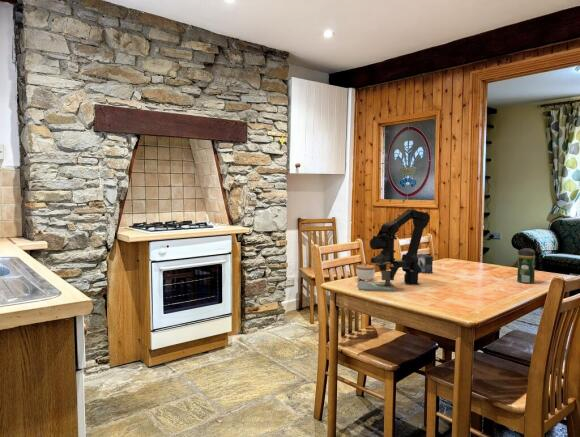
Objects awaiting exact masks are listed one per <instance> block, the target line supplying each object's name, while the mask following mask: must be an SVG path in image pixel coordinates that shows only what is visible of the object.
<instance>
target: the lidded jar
mask: <svg viewBox="0 0 580 437" xmlns="http://www.w3.org/2000/svg"><path fill="white" fill-rule="evenodd" d="M355 272H356V276H357V278H358V279H359V280H360V279H362V280H370V281H372V280H373V278H374V277H375V273H376V266H375V265H372V264H368V263H366V262H365V263H364V264H357V265H355ZM362 280H361V281H362Z"/></svg>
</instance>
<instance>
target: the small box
mask: <svg viewBox="0 0 580 437" xmlns="http://www.w3.org/2000/svg"><path fill="white" fill-rule="evenodd" d="M417 257H418V265H419V266H420V268H421V269H422V270H421V273H420V274H424V273H425V274H424V275H426V273H428V274H433V259H434V256H433V255H429V254H424V253H417Z"/></svg>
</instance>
